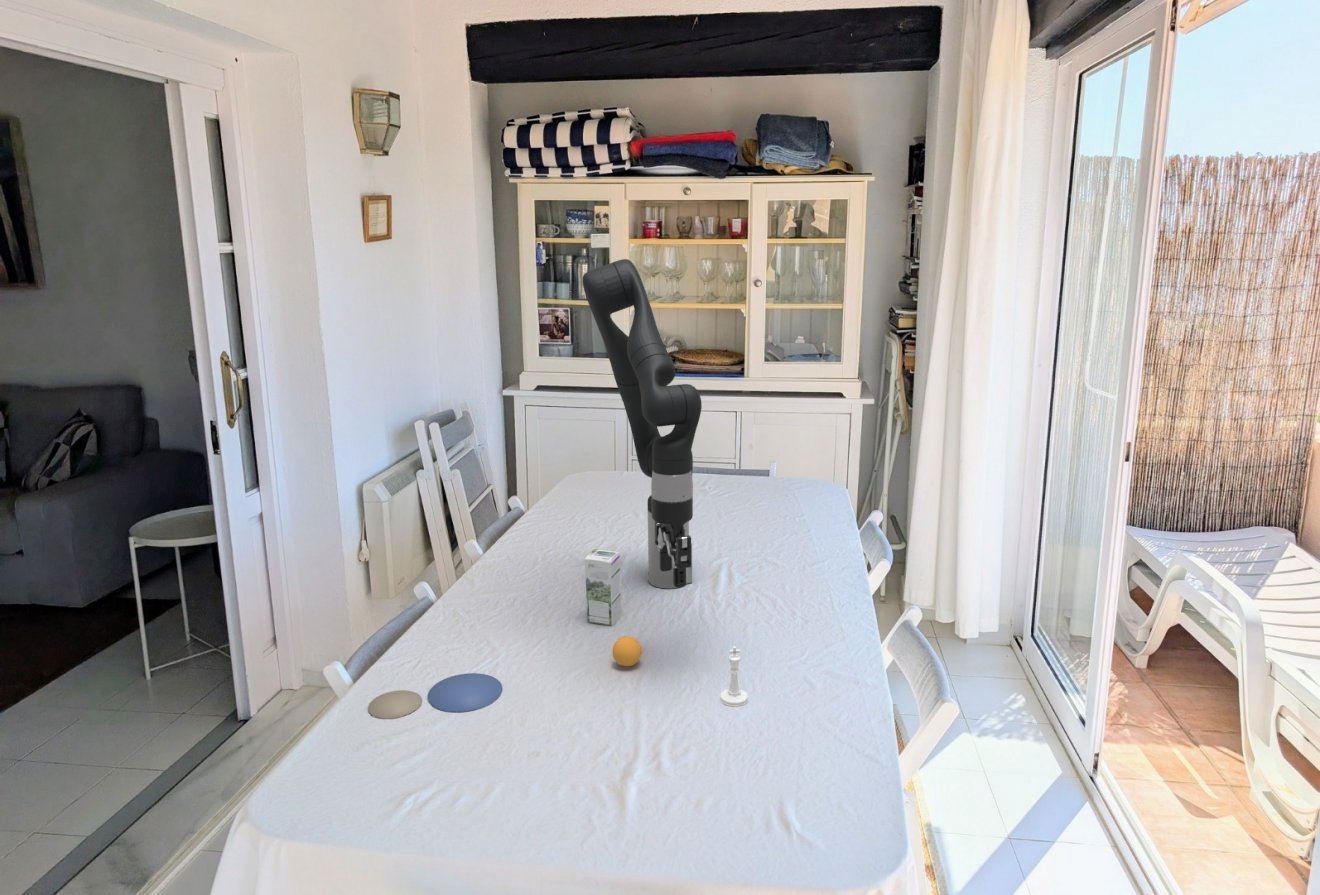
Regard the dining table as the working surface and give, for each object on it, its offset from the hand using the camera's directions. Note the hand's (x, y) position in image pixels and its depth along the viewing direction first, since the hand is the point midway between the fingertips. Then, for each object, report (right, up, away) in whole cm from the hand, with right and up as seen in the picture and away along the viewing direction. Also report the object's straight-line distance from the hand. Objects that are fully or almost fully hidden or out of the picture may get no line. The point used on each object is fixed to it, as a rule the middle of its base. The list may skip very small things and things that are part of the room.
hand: (672, 577), depth 170 cm
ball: (-9, -14, +1) cm, 16 cm away
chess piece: (+11, -20, -11) cm, 25 cm away
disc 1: (-48, -20, -11) cm, 54 cm away
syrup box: (-14, -12, +20) cm, 27 cm away
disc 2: (-37, -19, -8) cm, 42 cm away
